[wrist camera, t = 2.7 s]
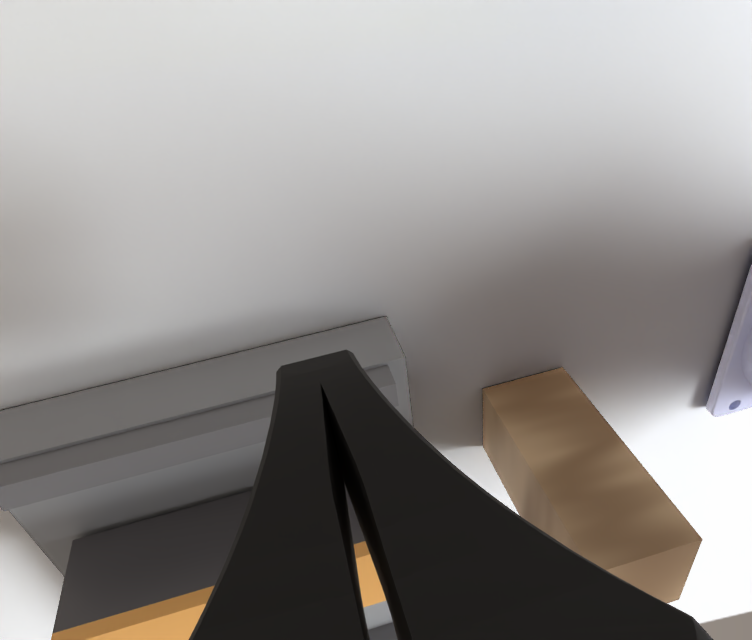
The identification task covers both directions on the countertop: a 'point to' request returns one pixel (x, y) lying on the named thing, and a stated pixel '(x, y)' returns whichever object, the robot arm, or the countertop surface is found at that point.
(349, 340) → the box
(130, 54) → the countertop surface
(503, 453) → the oak post
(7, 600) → the countertop surface
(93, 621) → the breaker toggle
